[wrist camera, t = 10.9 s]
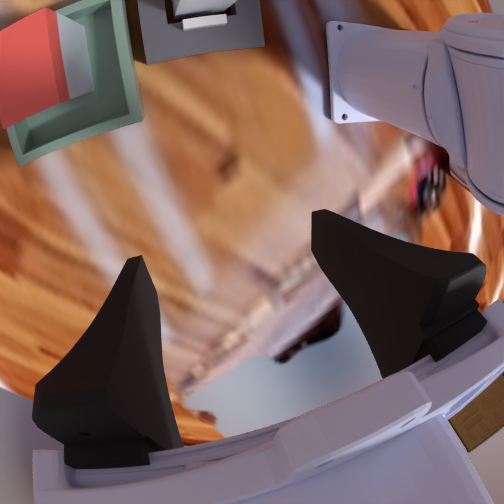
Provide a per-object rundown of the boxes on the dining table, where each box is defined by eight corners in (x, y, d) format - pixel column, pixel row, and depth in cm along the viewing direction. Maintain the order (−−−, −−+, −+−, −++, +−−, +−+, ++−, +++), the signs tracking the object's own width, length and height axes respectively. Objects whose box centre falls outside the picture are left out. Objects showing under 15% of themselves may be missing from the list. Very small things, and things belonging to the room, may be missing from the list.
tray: (124, -3, 11) (120, -13, 10) (144, 114, 17) (142, 120, 15) (7, 46, 10) (-10, 46, 8) (32, 155, 15) (18, 167, 13)
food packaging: (423, 344, 51) (486, 436, 32) (396, 350, 47) (465, 457, 28) (461, 293, 45) (539, 388, 25) (439, 294, 41) (528, 406, 22)
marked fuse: (84, 26, 11) (45, 7, 6) (95, 90, 14) (60, 103, 9) (41, 44, 11) (-14, 39, 5) (52, 106, 14) (3, 130, 8)
